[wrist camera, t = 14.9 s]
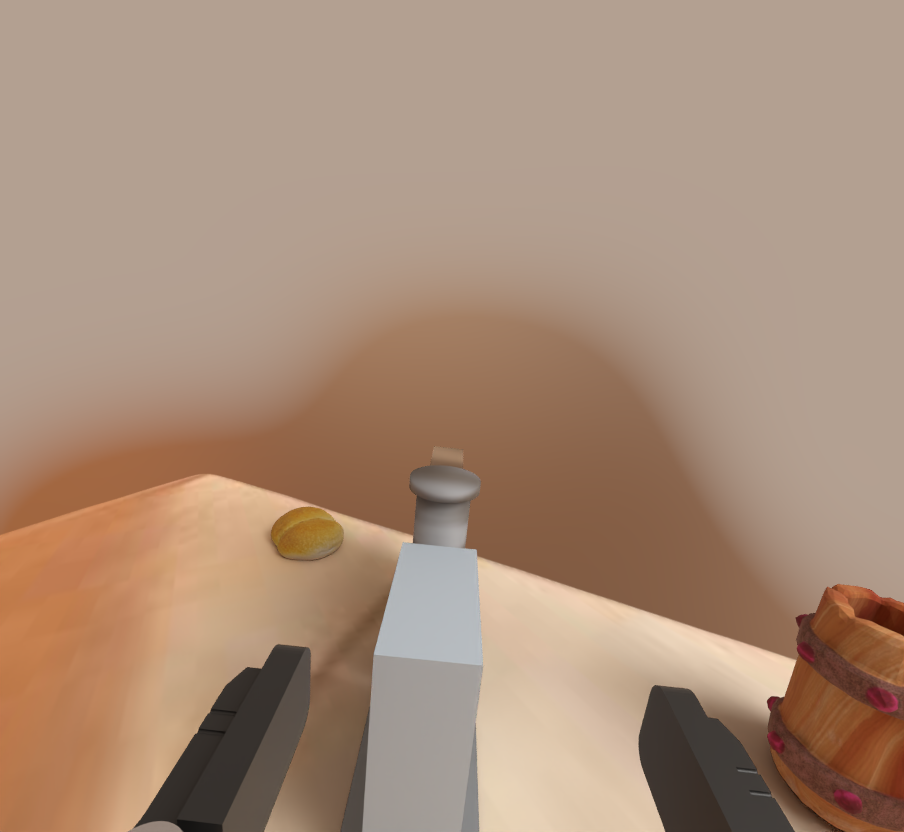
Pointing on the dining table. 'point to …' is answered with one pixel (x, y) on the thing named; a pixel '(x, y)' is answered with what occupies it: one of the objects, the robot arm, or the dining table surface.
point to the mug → (846, 712)
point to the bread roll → (307, 534)
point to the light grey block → (424, 693)
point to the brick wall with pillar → (443, 499)
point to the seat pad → (355, 804)
